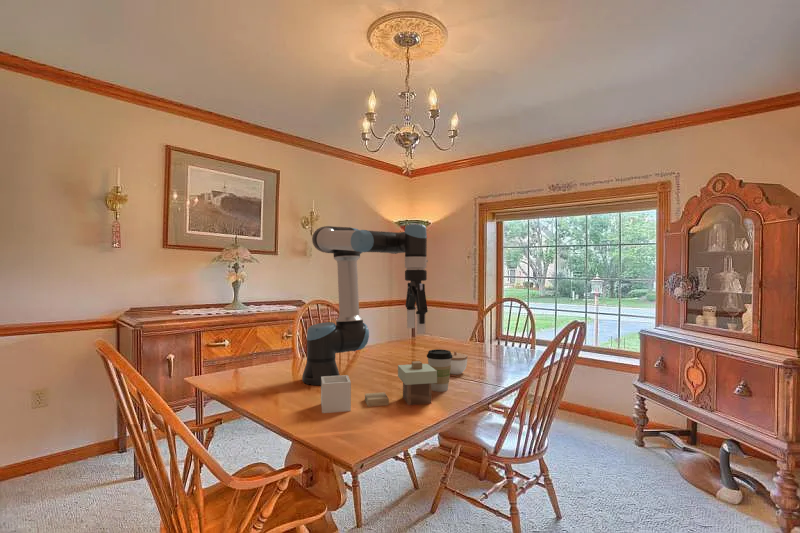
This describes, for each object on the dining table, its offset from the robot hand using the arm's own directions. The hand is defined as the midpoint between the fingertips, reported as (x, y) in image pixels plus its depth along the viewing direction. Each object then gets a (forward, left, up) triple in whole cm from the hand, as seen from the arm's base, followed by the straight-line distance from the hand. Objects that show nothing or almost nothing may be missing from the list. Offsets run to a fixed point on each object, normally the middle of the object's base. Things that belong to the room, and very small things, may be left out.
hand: (415, 330), depth 143 cm
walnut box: (0, 0, -25) cm, 25 cm away
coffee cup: (-11, +12, -25) cm, 30 cm away
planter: (+1, -28, -25) cm, 37 cm away
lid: (0, 0, -17) cm, 17 cm away
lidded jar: (-36, +28, -25) cm, 53 cm away
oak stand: (-1, -14, -25) cm, 28 cm away
